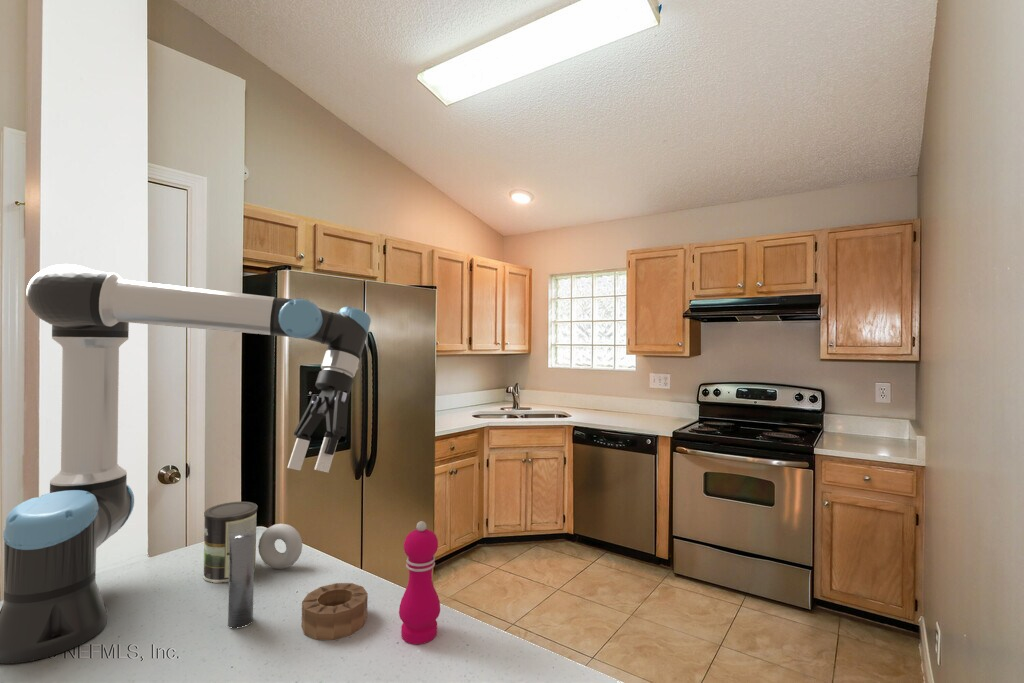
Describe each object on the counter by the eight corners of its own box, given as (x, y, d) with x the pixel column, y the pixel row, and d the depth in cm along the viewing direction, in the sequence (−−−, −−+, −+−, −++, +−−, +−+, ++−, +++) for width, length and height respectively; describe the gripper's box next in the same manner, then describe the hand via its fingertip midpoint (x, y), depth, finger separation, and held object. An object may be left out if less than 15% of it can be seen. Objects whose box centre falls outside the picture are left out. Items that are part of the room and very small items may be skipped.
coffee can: (196, 586, 104) (197, 518, 104) (210, 564, 114) (211, 503, 114) (251, 580, 107) (252, 514, 107) (260, 559, 117) (261, 499, 117)
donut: (304, 566, 114) (305, 522, 114) (297, 573, 111) (297, 528, 111) (263, 563, 115) (264, 520, 115) (254, 570, 112) (255, 525, 112)
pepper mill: (399, 649, 84) (401, 530, 84) (397, 625, 91) (399, 516, 91) (442, 643, 86) (444, 527, 86) (437, 620, 93) (439, 513, 93)
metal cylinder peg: (223, 628, 89) (225, 539, 89) (234, 616, 93) (236, 530, 93) (246, 628, 89) (248, 539, 89) (256, 616, 93) (258, 530, 93)
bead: (292, 639, 86) (293, 613, 86) (315, 606, 97) (315, 583, 97) (357, 639, 87) (357, 613, 87) (372, 606, 98) (372, 583, 98)
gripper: (380, 373, 105) (352, 476, 97) (327, 384, 122) (299, 472, 115) (349, 361, 100) (316, 467, 93) (298, 374, 118) (267, 464, 110)
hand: (306, 470), depth 104 cm, fingers open, 13 cm apart
